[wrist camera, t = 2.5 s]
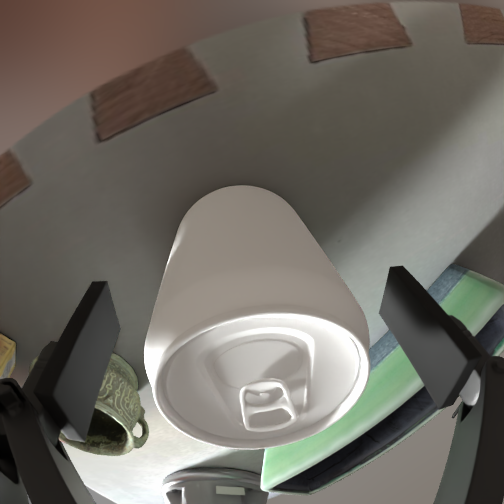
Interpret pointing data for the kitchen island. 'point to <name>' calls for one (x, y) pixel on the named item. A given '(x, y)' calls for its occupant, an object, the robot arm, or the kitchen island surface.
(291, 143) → the kitchen island surface
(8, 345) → the candy box
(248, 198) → the beverage can
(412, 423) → the planter
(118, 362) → the vessel
